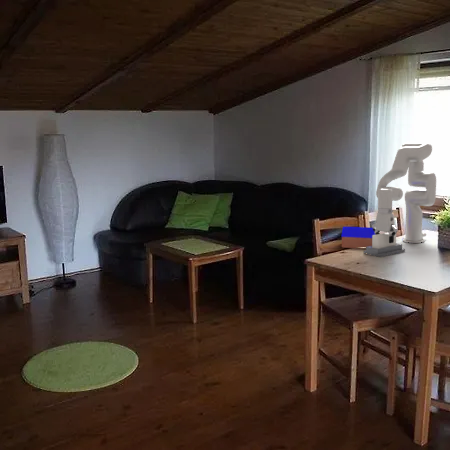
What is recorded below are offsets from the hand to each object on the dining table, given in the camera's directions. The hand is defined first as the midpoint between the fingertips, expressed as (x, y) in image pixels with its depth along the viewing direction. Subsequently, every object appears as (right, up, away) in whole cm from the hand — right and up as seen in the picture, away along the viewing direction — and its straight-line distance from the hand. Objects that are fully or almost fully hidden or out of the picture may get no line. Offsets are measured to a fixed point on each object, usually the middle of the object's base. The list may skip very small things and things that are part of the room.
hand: (384, 241), depth 303 cm
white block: (0, -5, +1) cm, 5 cm away
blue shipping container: (-9, -4, +20) cm, 22 cm away
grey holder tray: (0, -6, +1) cm, 6 cm away
